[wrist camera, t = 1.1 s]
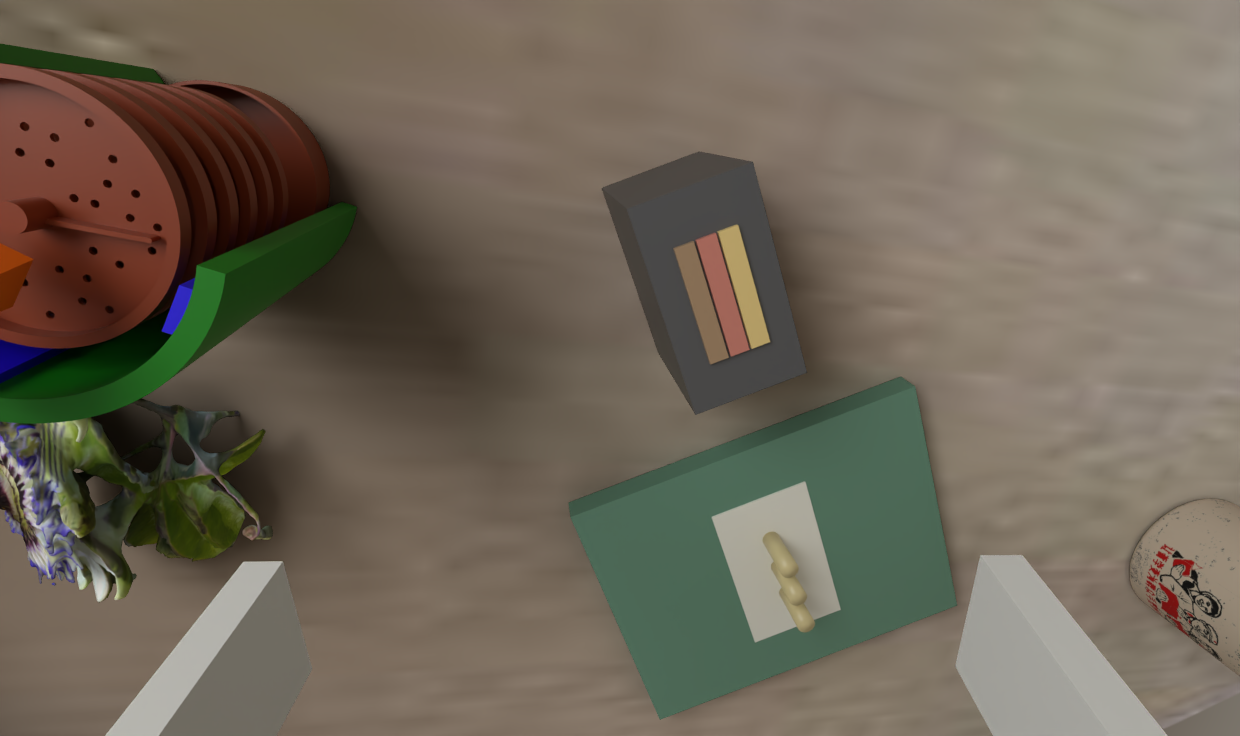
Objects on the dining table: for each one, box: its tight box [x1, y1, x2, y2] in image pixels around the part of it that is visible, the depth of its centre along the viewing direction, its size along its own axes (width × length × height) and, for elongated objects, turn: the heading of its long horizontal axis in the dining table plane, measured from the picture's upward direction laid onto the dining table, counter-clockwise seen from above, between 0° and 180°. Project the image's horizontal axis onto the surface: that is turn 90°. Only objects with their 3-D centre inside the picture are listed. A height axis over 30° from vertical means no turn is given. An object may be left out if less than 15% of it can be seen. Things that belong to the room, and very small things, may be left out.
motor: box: [0, 44, 357, 424], centre depth 21 cm, size 10×9×20 cm
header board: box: [569, 377, 957, 719], centre depth 39 cm, size 20×16×4 cm
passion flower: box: [0, 398, 273, 603], centre depth 31 cm, size 11×11×12 cm
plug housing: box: [602, 152, 807, 415], centre depth 31 cm, size 5×9×8 cm, turn 19°
